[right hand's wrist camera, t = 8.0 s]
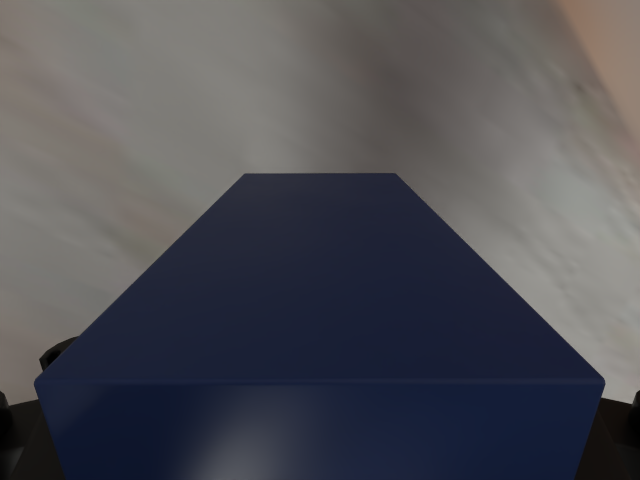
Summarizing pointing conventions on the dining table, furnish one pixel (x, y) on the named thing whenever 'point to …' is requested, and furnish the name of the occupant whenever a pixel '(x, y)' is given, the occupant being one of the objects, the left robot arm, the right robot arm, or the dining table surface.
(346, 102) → the dining table surface
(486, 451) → the box
